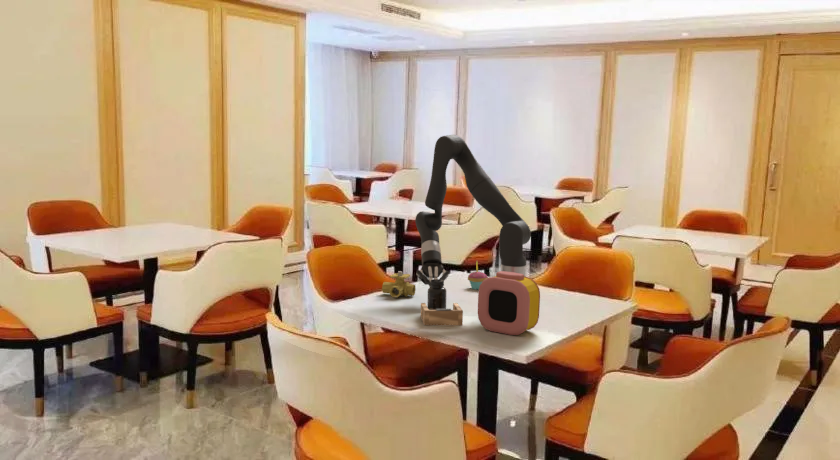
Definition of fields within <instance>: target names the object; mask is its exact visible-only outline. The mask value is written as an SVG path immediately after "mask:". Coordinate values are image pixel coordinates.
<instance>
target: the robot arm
mask: <svg viewBox="0 0 840 460" xmlns="http://www.w3.org/2000/svg"><path fill="white" fill-rule="evenodd" d="M434 144H435V145H434V151H433V161H432V169H431V176H430V181H429V187H428V190H427V194H426V197H425V201H424V205H425V206H426V207H427V208H428V209H431V210H433V211H434V212H430V211H424V210H423V211H419V212H418V213H417V214H416V215H415V218H414V220H415V226H416V229H417V232H418V234H419V236H420V240H421V241H420V243H421V245H420V246H421V250H420V255H421V267H420V269H418V270H416V274H415V276H416V277H417V278H418V279H419V280H420V281H421V282H422V283H423V284H424V285H426V286H427V285H428V286H429V288H430V287H431V285H430V284H431V280H433V279H440V280H444V281H446V280H447V278H448V277H449V273H450V271H449V270H445V269H444V266H443V261H442V251H441V246H440V245H441V244H440V235H439V233H438V231H439V230H440V229H441V228H442V225H443V224H442V223H443V205H444V202H445V197H446V195H447V190H448V189H447V188H448V185H447V176H446V175H447V174H446V173H447V168H448V166H449V163H450V161H451V160H453V161H455V162H456V163H457V166H459V168H460V169H461V170H462V172H463V175H464V179H465V185H466V187H467V190H468V191H469V193H470V194H471V196H472V197H473V199H474V200H475V201H476V202H477V203H478V204H479V206H481V207H482V208H483V209H484V210H486V211H487V212H488V213H490V214H491V215H492V216H493V217H495V219H497V220H498V221H499V223H500V225H501V228H500V231H499V237H498V239H499V244H498V245H499V246H498V250H499V251H498V252H499V254H498V255H499V257H500V271H505V272H514V273H520V274H524V276H526V277H527V273H526V272H527V257H526V256H524V253H523V252H524V250H523V245H526V244H527V243H528V242H529V241H530V240H531V237H532V236H531V234H532V233H531V232H532V231H531V229H530V226H529V225H528V224H527V222H526V221H525V220H524V219H523V218H522V217H521V216H520V215H519V214H518V213H517V212H516V211H515V209H514V208H513V207H512V206H511V204H510V203H509V202H508V200H507V199H506V198H505V197H504V195H503V194H502V192H501V191H500V189H499V188H498V187H497V185H496V184H495V182H494V181H493V180H492V179H491V177H490V176H489V175H488V173H487V172H486V171H485V170H484V168H483V167H482V165H481V164H480V163H479V161H477V159H476V158H475V156H474V155H473V152H472V150H471V149H470V147H469V146H468V145H467V143H466V141H465V140H464V138H463V137H461V136H460V135H457V134H447V135H442V136H440V137H438V139H437V140H436V141H435V143H434ZM439 277H440V278H439Z"/></svg>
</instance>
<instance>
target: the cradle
mask: <svg viewBox="0 0 840 460" xmlns="http://www.w3.org/2000/svg"><path fill="white" fill-rule="evenodd" d="M427 306H428V305H427V304H426V303H425V302H424V303H423V302H420V319H421V322H422V324H423V325H424V326H463V323H464V322H463V319H464V318H463V317H464V310H463V309H462V307H461V306H460V305H459V304H458V303H457V302H453V305H452V308H446V309H436V310H429V309H428V307H427Z"/></svg>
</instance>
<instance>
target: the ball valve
mask: <svg viewBox="0 0 840 460" xmlns="http://www.w3.org/2000/svg"><path fill="white" fill-rule="evenodd" d="M410 277H411V274H410V273H406V274H405V273H403V271H401V270H398V272H397V273H395V272H394V273H393V274H391V275H390V276H389V278H390V279H391V278H392V279H396V280H394V281H395V282H392V281H391V282H390V281H383V283H382V287H381V291H382V294H383V293H384V294H389V295H390V296H391V297H392V298H399V297H405V298H407V297H408V296H413V297H414V296H415V295H416V284H413V283H410V282H409V281H405V280H407V279H408V278H410Z"/></svg>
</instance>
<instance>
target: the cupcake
mask: <svg viewBox="0 0 840 460" xmlns="http://www.w3.org/2000/svg"><path fill="white" fill-rule="evenodd" d="M478 264H479V262H478V261H476V263H475V265H476V267H475V268H476V269H475V270H476V271H473V272H470V273H469V274H467V275H468V276H467V280H468V281H469V284H470V286H471V289H472V290H479V287H480V285H481V283H482V282H483V281H484V280H485V279H487V278H488V277H489V276H488V275H487V274H486V273H485V272H481V271H479V266H478Z"/></svg>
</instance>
